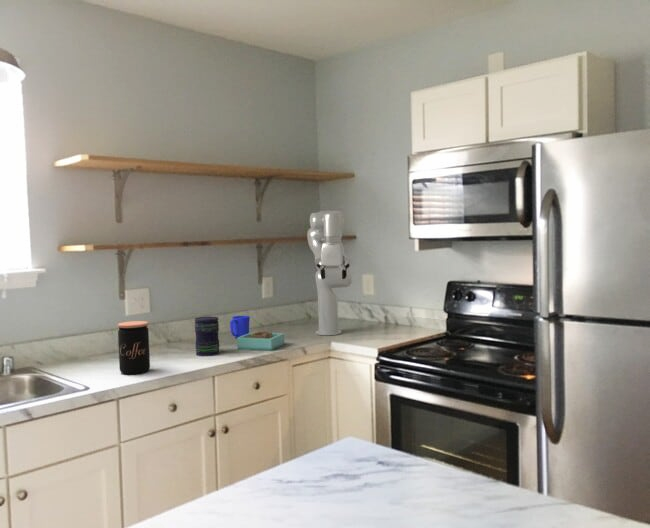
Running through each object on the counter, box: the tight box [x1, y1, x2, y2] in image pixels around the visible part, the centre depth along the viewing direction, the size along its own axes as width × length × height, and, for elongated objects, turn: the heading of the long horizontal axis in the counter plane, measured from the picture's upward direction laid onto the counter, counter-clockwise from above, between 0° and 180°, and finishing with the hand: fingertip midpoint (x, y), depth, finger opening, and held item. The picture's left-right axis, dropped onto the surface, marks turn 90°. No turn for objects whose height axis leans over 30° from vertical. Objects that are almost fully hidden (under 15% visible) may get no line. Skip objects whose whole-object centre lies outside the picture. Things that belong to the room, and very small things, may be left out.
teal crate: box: [236, 332, 286, 352], centre depth 264 cm, size 14×16×5 cm
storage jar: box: [194, 316, 221, 357], centre depth 252 cm, size 10×10×15 cm
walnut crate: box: [250, 331, 273, 339], centre depth 264 cm, size 9×6×5 cm
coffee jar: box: [117, 320, 151, 376], centre depth 223 cm, size 11×11×18 cm
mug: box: [229, 315, 251, 339], centre depth 288 cm, size 8×12×10 cm
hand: (333, 278), depth 271 cm, fingers open, 9 cm apart
